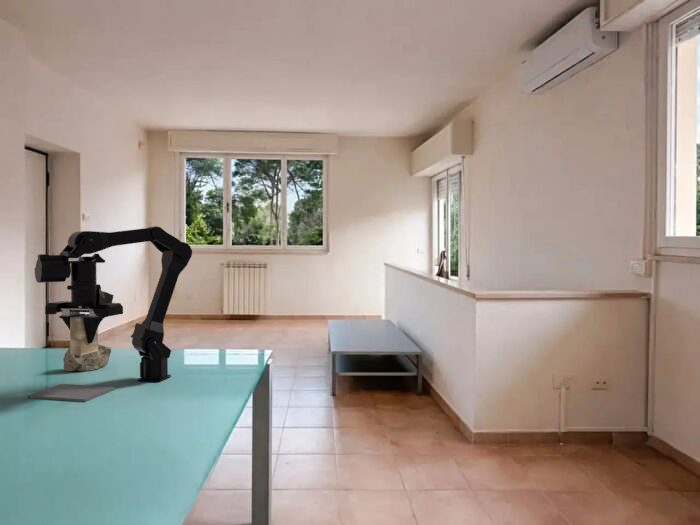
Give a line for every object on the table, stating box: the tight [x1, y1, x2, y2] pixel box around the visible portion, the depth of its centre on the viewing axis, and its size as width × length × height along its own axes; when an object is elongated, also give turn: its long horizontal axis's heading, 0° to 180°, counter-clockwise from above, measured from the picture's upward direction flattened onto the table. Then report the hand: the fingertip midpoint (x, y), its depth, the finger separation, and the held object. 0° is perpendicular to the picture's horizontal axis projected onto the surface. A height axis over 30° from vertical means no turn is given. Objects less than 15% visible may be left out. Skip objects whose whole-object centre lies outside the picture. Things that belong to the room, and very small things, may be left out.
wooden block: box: [69, 313, 99, 355], centre depth 130 cm, size 3×6×9 cm, turn 166°
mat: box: [27, 383, 116, 403], centre depth 129 cm, size 16×11×1 cm
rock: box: [62, 343, 112, 372], centre depth 154 cm, size 12×7×10 cm, turn 112°
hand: (84, 342), depth 130 cm, fingers closed on wooden block, 3 cm apart
